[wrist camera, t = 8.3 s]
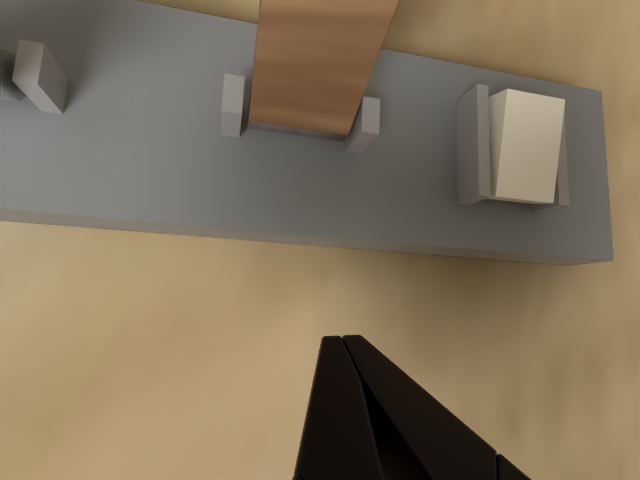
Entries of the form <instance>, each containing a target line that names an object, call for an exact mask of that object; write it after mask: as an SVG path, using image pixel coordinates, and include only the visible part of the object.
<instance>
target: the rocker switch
mask: <svg viewBox="0 0 640 480" xmlns="http://www.w3.org/2000/svg"><path fill="white" fill-rule="evenodd" d="M564 107H565V99H560V98H555V97H549V96H544V95H539V94H533V93H528V92H523V91H517V90H512V89H506V90H503V91H501V92H499V93H497V94H495V95H492V96H490V97H489V100H488V109H489V149H490V189H491V197H489V198H486V199H494V200H502V201H511V202H520V203H528V204H546V203H554V194H555V185H556V177H557V168H558V159H559V150H560V142H561V133H562V124H563V116H564Z"/></svg>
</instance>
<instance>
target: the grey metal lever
mask: <svg viewBox="0 0 640 480" xmlns="http://www.w3.org/2000/svg"><path fill="white" fill-rule="evenodd" d="M15 61H16V55H15V54H13V53H11V52H8V51H6V50H4V49H2V48H0V98H1V99H8V100H15V101H23V97H27V96H26V94H25V93H24V92H23V91H22V90H21V89H20V88H19V87H18V86H17V85H16V84H15V83H14V82H13V81H12V78H13V72H14V67H15Z"/></svg>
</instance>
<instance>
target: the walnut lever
mask: <svg viewBox="0 0 640 480" xmlns="http://www.w3.org/2000/svg"><path fill="white" fill-rule="evenodd" d="M398 1H399V0H260V6H259V16H258V25H257V34H256V44H255V53H254V62H253V71H252V81H251V90H250V101H249V110H248V122H247V128H250V129H257V130H265V131H272V132H279V133H286V134H293V135H301V136H308V137H315V138H322V139H329V140H337V141H344V140H345V138H346V135H348V134H349V131H350V129H351V126H352V123H353V121H354V118H355V115H356V113H357V110H358V107H359V105H360V102H361V99H362V97H363V94H364V91H365V89H366V86H367V83H368V81H369V78H370V75H371V73H372V70H373V67H374V65H375V62H376V59H377V57H378V54H379V51H380V49H381V46H382V43H383V41H384V38H385V35H386V33H387V30H388V27H389V25H390V22H391V19H392V17H393V14H394V11H395V9H396V6H397V3H398Z"/></svg>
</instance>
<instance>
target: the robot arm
mask: <svg viewBox="0 0 640 480" xmlns="http://www.w3.org/2000/svg"><path fill="white" fill-rule="evenodd" d="M292 480H531V479H530V478H529V477H528V476H526V475H525V474H524V473H523V472H522V471H520V470H519V469H518V468H517V467H516V466H514V465H513V464H512V463H511V462H510V461H509V460H507V459H506V458H505V457H504V456H503V455H501V454H498V455H497V452H496V450H495V449H493V448H492V447H491V446H490V445H489V444H488V443H486V442H485V441H484V440H483V439H482V438H481V437H479V436H478V435H477V434H476V433H475V432H474V431H472V430H471V429H470V428H469V427H468V426H467V425H465V424H464V423H463V422H462V421H461V420H460V419H458V418H457V417H456V416H455V415H454V414H453V413H451V412H450V411H449V410H448V409H447V408H445V407H444V406H443V405H442V404H441V403H440V402H438V401H437V400H436V399H435V398H434V397H433V396H431V395H430V394H429V393H428V392H427V391H426V390H424V389H423V388H422V387H421V386H420V385H419V384H417V383H416V382H415V381H414V380H413V379H412V378H410V377H409V376H408V375H407V374H406V373H405V372H403V371H402V370H401V369H400V368H399V367H398V366H396V365H395V364H394V363H393V362H392V361H390V360H389V359H388V358H387V357H386V356H385V355H383V354H382V353H381V352H380V351H379V350H378V349H376V348H375V347H374V346H373V345H372V344H371V343H369V342H368V341H367V340H366V339H365V338H364V337H362V336H361V335H344V336H343V337H342V338H341V337H340V336H324V337H323V338H322V340H321V344H320V349H319V354H318V359H317V364H316V369H315V374H314V378H313V383H312V388H311V393H310V398H309V403H308V408H307V413H306V417H305V422H304V427H303V432H302V437H301V442H300V447H299V452H298V456H297V461H296V466H295V471H294V476H293V479H292Z"/></svg>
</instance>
